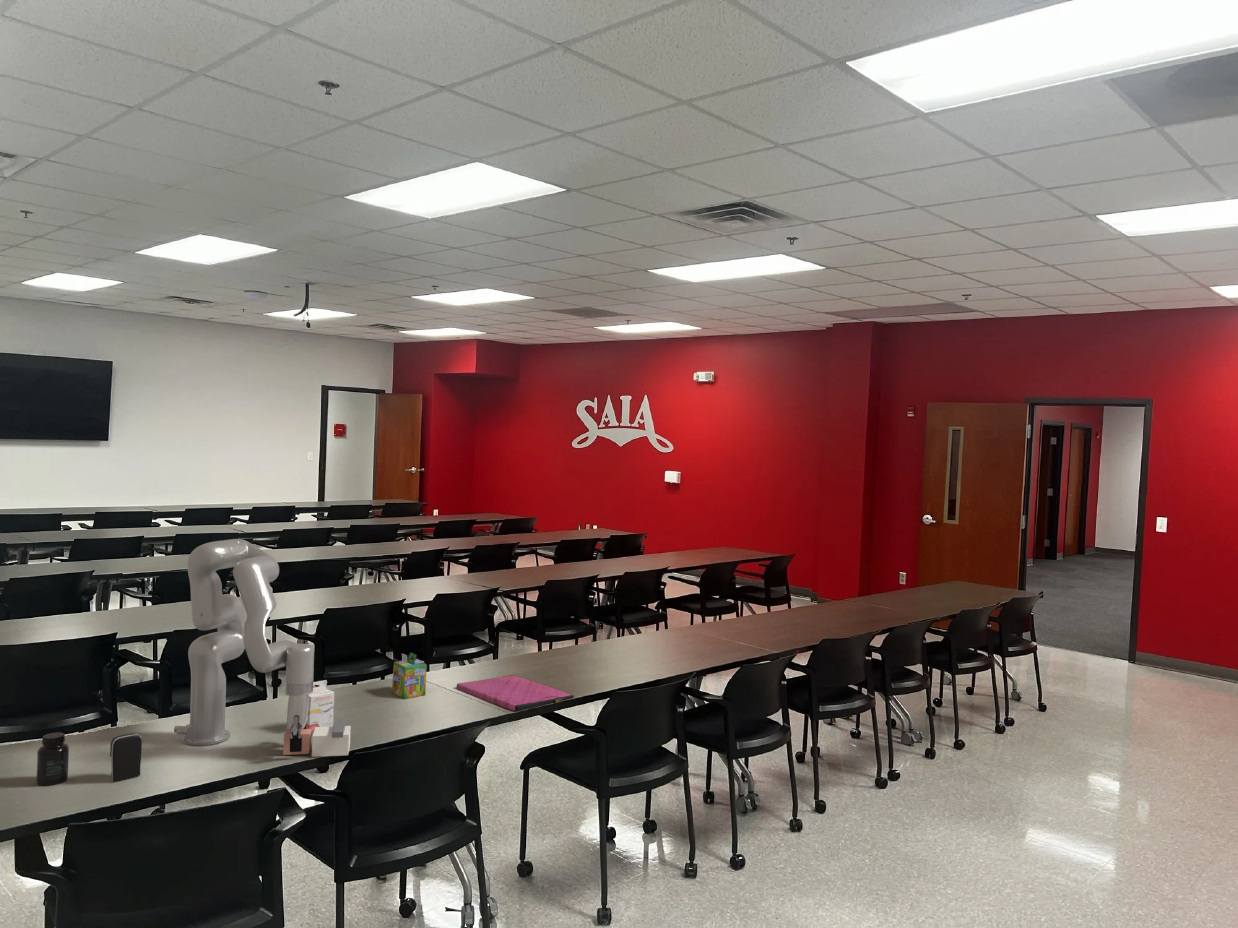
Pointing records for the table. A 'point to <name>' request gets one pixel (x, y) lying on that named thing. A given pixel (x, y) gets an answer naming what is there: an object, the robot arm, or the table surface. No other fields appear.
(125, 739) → the black rounded block
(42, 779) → the supplement bottle
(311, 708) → the ink cartridge box
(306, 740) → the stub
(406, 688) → the chalk box
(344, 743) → the block
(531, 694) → the laptop bag
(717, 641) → the table surface
